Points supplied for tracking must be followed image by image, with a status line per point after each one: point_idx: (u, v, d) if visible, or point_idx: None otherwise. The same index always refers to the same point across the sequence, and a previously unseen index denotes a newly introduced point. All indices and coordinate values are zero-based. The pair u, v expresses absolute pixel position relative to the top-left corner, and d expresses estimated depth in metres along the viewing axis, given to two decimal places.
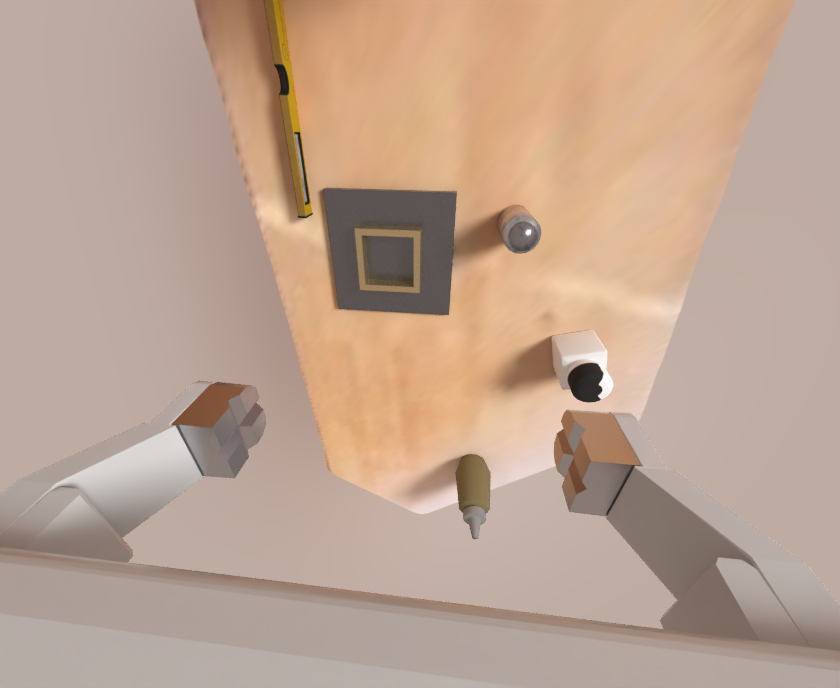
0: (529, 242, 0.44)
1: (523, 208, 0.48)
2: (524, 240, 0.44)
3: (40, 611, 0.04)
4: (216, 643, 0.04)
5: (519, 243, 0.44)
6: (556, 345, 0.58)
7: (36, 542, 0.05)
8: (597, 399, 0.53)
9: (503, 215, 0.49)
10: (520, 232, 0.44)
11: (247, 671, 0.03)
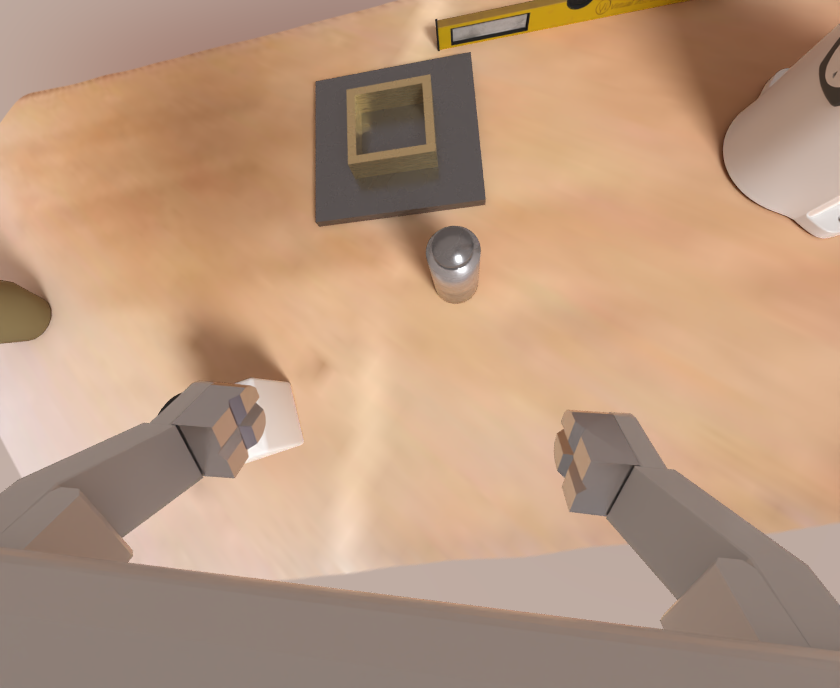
0: (446, 256, 0.29)
1: None
2: (448, 248, 0.29)
3: (40, 612, 0.04)
4: (216, 643, 0.04)
5: (443, 243, 0.29)
6: (273, 381, 0.35)
7: (36, 542, 0.05)
8: None
9: None
10: (459, 239, 0.29)
11: (247, 671, 0.03)
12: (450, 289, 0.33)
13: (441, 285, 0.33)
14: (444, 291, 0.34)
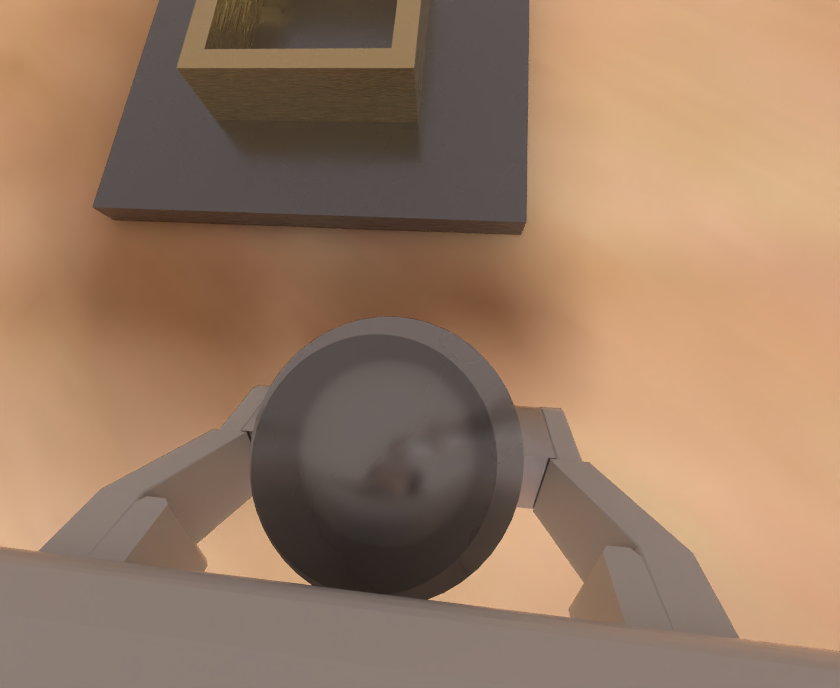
0: (321, 519, 0.05)
1: None
2: (345, 467, 0.05)
3: (40, 612, 0.04)
4: (216, 643, 0.04)
5: (323, 424, 0.05)
6: None
7: (134, 554, 0.05)
8: None
9: None
10: (419, 423, 0.05)
11: (247, 671, 0.03)
12: None
13: None
14: None
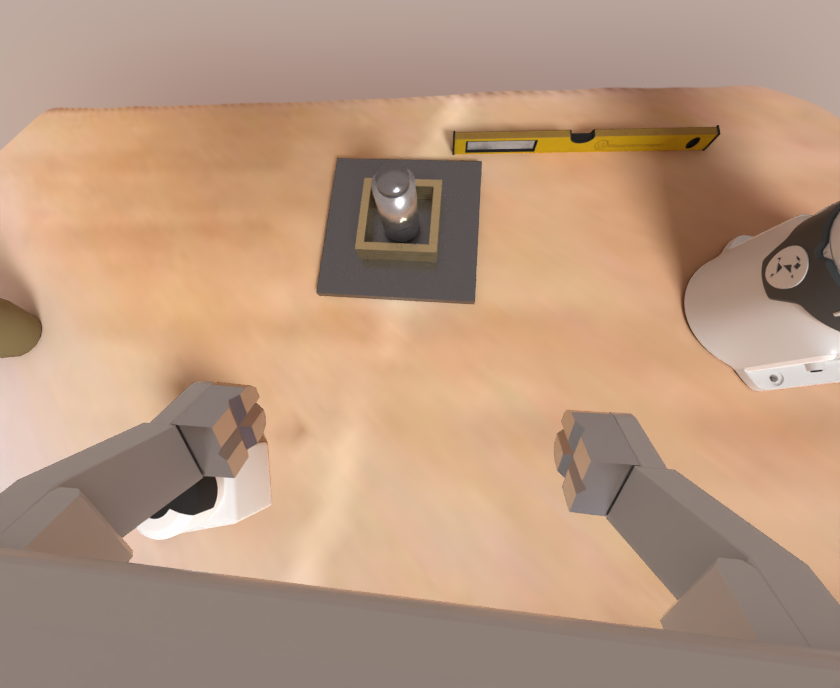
0: (385, 184, 0.35)
1: (417, 221, 0.42)
2: (388, 178, 0.35)
3: (40, 612, 0.04)
4: (216, 643, 0.04)
5: (384, 173, 0.36)
6: None
7: (36, 542, 0.05)
8: None
9: None
10: (398, 173, 0.36)
11: (247, 671, 0.03)
12: (390, 220, 0.39)
13: (383, 215, 0.39)
14: (386, 224, 0.41)
